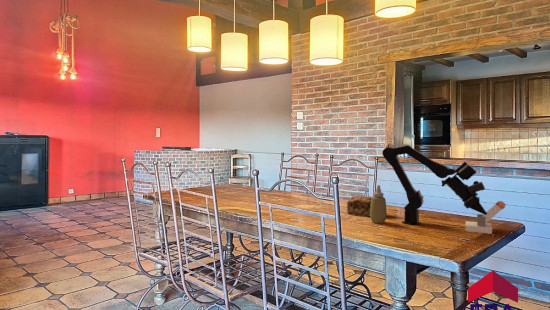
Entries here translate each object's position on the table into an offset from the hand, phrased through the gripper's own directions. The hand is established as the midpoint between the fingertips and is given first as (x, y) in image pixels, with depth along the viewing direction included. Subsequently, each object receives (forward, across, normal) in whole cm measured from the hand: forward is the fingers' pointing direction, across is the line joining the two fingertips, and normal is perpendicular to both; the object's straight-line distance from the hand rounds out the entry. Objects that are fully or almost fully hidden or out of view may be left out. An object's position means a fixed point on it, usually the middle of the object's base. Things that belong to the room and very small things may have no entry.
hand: (485, 213), depth 163 cm
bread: (-33, +11, +45) cm, 57 cm away
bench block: (+4, 0, +7) cm, 8 cm away
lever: (+1, 0, +4) cm, 4 cm away
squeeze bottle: (-27, -5, +38) cm, 47 cm away
